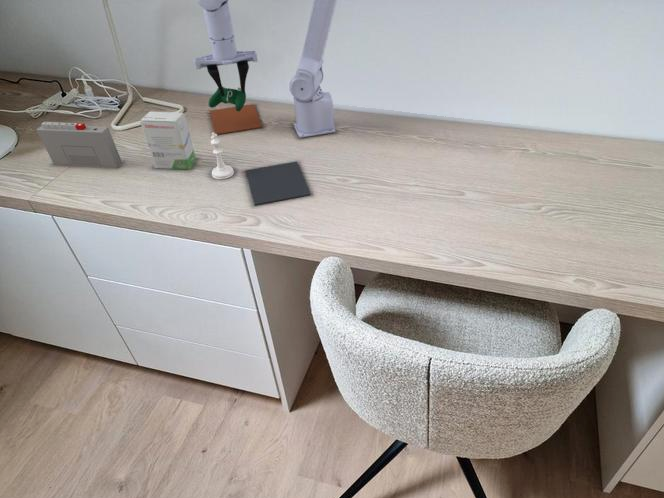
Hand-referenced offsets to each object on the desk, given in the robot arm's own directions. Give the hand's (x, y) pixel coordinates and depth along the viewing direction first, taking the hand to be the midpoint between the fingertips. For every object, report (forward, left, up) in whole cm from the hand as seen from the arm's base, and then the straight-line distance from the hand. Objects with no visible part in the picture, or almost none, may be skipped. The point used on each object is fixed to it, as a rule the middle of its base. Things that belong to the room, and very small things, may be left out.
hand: (233, 93), depth 124 cm
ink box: (+17, +15, -9) cm, 24 cm away
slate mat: (-4, +31, -8) cm, 32 cm away
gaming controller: (+1, 0, -3) cm, 3 cm away
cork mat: (+1, -3, -8) cm, 9 cm away
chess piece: (+7, +23, -9) cm, 25 cm away
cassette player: (+37, +8, -9) cm, 38 cm away
